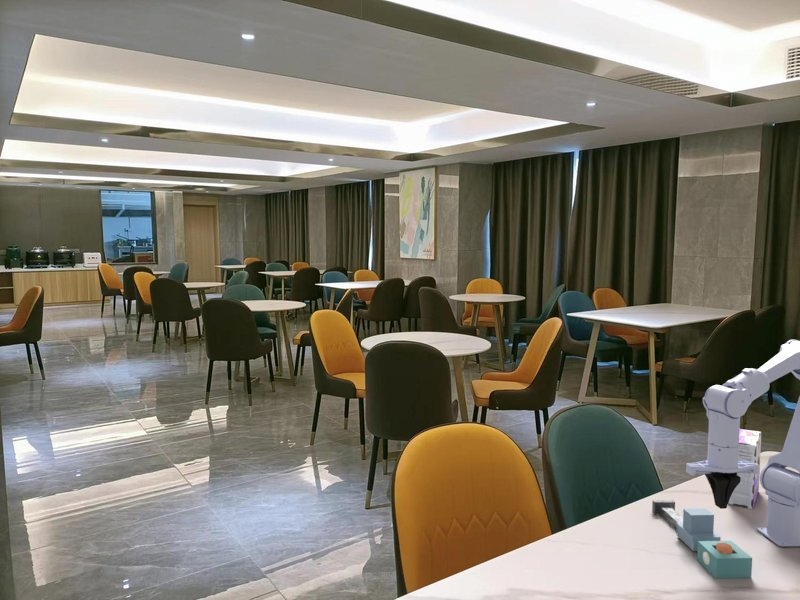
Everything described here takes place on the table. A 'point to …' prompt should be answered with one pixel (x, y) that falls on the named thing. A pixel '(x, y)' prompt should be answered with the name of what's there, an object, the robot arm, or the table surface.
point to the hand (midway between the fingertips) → (720, 506)
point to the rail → (667, 511)
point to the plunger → (724, 548)
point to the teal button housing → (724, 560)
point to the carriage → (696, 527)
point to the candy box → (749, 482)
